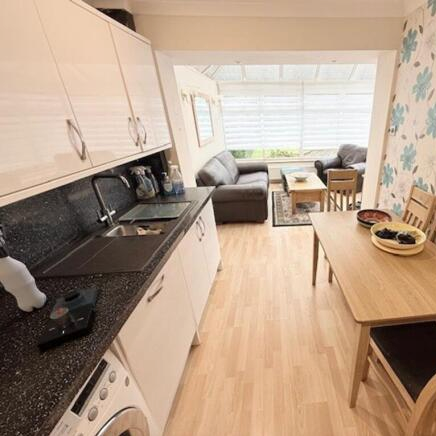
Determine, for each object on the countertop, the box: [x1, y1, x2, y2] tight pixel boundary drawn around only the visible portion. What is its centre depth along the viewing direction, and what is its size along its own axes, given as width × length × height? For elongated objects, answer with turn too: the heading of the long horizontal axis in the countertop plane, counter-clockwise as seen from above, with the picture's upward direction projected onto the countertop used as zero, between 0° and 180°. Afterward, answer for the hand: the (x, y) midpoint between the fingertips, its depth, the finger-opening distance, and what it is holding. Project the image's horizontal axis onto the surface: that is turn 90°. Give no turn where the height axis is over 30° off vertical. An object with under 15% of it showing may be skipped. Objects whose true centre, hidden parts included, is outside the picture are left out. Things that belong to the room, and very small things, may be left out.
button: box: [63, 289, 79, 301], centre depth 88 cm, size 4×4×2 cm
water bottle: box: [0, 255, 47, 313], centre depth 85 cm, size 7×7×25 cm
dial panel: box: [36, 307, 96, 352], centre depth 78 cm, size 12×10×3 cm
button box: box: [49, 286, 99, 318], centre depth 89 cm, size 12×10×4 cm
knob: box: [49, 308, 75, 330], centre depth 76 cm, size 4×4×5 cm
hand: (5, 256), depth 72 cm, fingers closed
